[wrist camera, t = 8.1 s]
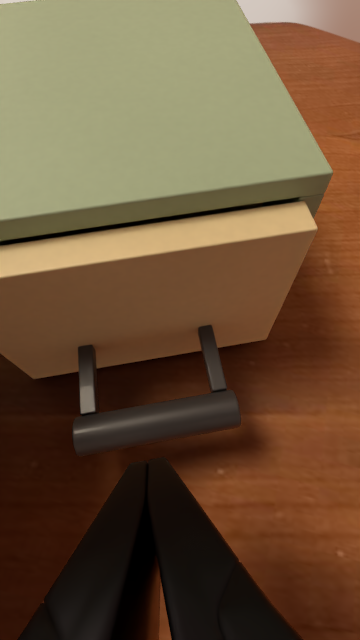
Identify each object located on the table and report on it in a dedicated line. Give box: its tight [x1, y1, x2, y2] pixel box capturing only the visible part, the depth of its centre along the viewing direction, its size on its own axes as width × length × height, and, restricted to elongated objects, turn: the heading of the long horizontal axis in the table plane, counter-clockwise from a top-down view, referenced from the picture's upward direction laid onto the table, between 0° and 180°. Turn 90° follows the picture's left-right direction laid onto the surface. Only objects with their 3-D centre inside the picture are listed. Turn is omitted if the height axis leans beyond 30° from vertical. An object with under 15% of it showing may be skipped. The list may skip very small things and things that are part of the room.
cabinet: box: [0, 0, 333, 241], centre depth 17 cm, size 14×13×10 cm
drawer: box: [0, 201, 318, 456], centre depth 15 cm, size 17×11×8 cm
